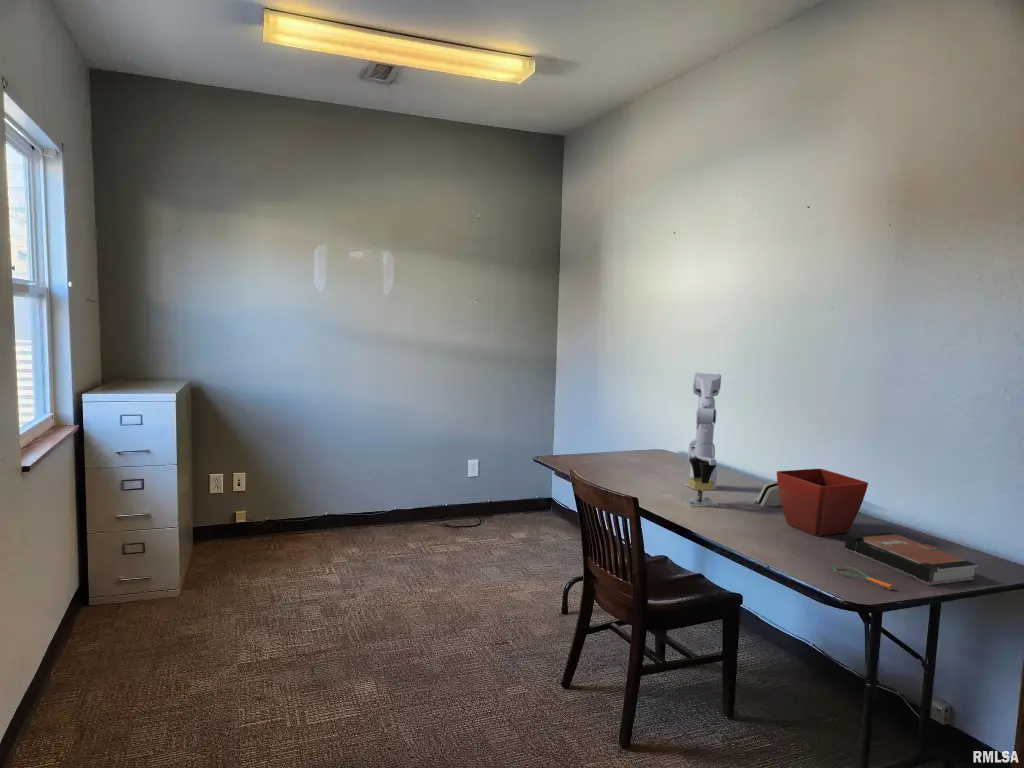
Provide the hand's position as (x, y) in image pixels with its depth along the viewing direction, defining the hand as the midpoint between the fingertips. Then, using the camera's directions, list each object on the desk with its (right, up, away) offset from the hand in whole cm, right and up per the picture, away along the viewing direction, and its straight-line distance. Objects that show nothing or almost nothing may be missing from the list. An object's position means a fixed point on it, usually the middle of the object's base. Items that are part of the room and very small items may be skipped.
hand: (701, 481), depth 232 cm
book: (+42, -16, -50) cm, 67 cm away
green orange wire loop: (+23, -16, -63) cm, 69 cm away
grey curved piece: (+29, -9, +5) cm, 31 cm away
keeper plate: (0, -8, +1) cm, 8 cm away
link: (0, -2, 0) cm, 2 cm away
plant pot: (+30, -12, -22) cm, 39 cm away
